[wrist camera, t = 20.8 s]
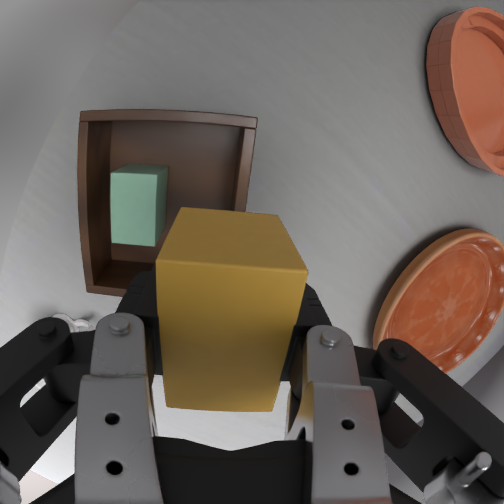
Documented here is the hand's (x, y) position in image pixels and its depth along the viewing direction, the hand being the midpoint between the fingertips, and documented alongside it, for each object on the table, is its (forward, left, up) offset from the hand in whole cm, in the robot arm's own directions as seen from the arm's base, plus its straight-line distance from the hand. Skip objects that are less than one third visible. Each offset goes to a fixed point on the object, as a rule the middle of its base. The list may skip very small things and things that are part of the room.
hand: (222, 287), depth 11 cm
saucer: (+11, +29, -16) cm, 35 cm away
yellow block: (0, 0, -1) cm, 1 cm away
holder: (+1, -5, -16) cm, 17 cm away
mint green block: (+1, -7, -16) cm, 17 cm away
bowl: (-17, +27, -16) cm, 36 cm away
